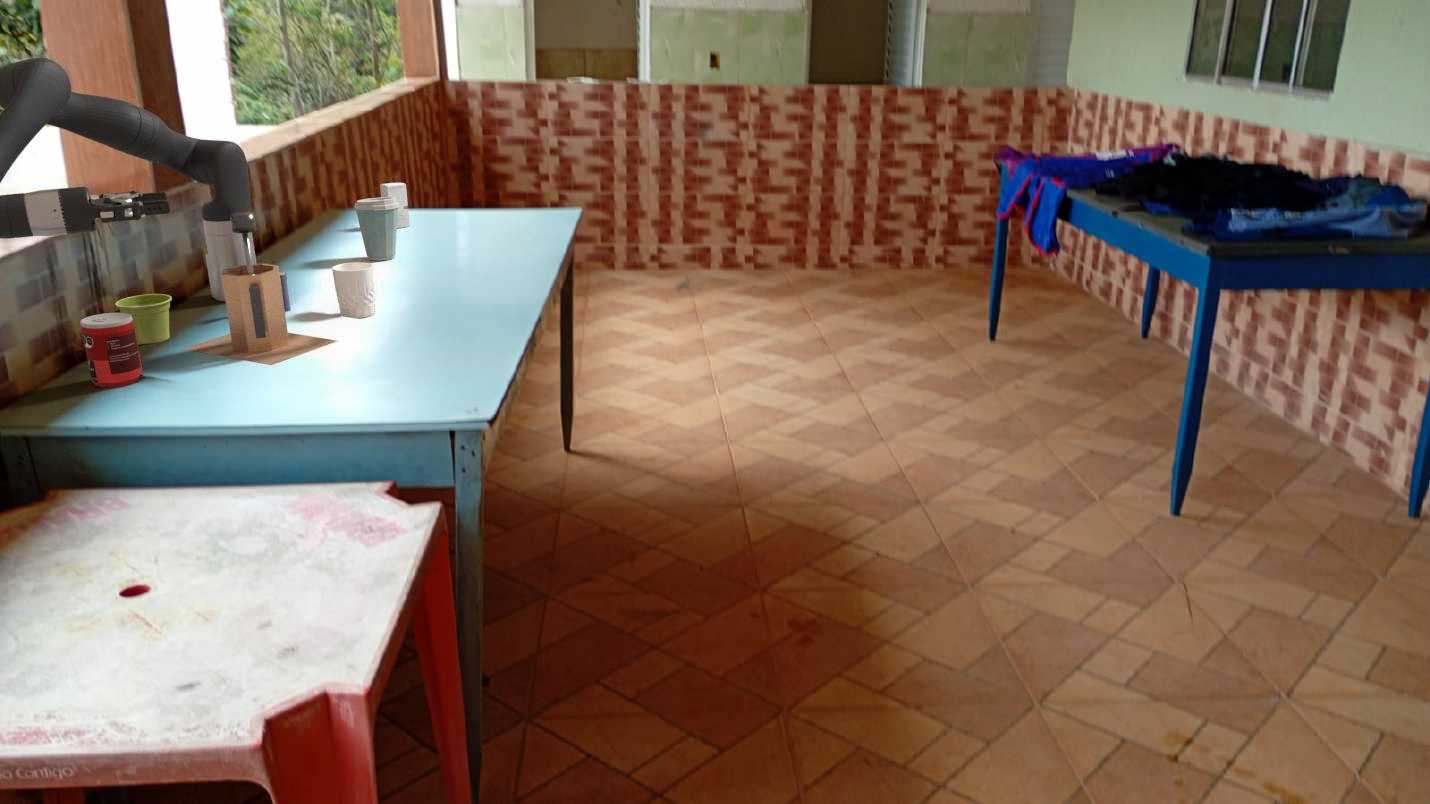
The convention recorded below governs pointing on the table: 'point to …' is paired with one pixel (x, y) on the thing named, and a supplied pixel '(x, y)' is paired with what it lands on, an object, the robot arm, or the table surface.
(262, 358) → the walnut board
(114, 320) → the canned food
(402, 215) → the skincare box
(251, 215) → the plunger
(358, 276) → the white cup
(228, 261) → the robot arm
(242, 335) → the press beaker
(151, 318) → the plant pot
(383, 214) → the disposable coffee cup
